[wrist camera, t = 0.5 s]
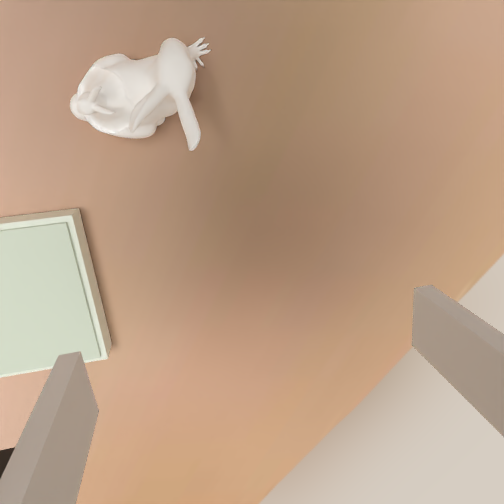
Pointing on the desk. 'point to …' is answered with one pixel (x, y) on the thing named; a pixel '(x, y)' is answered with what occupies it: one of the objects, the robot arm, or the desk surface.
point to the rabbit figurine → (141, 92)
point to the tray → (48, 293)
